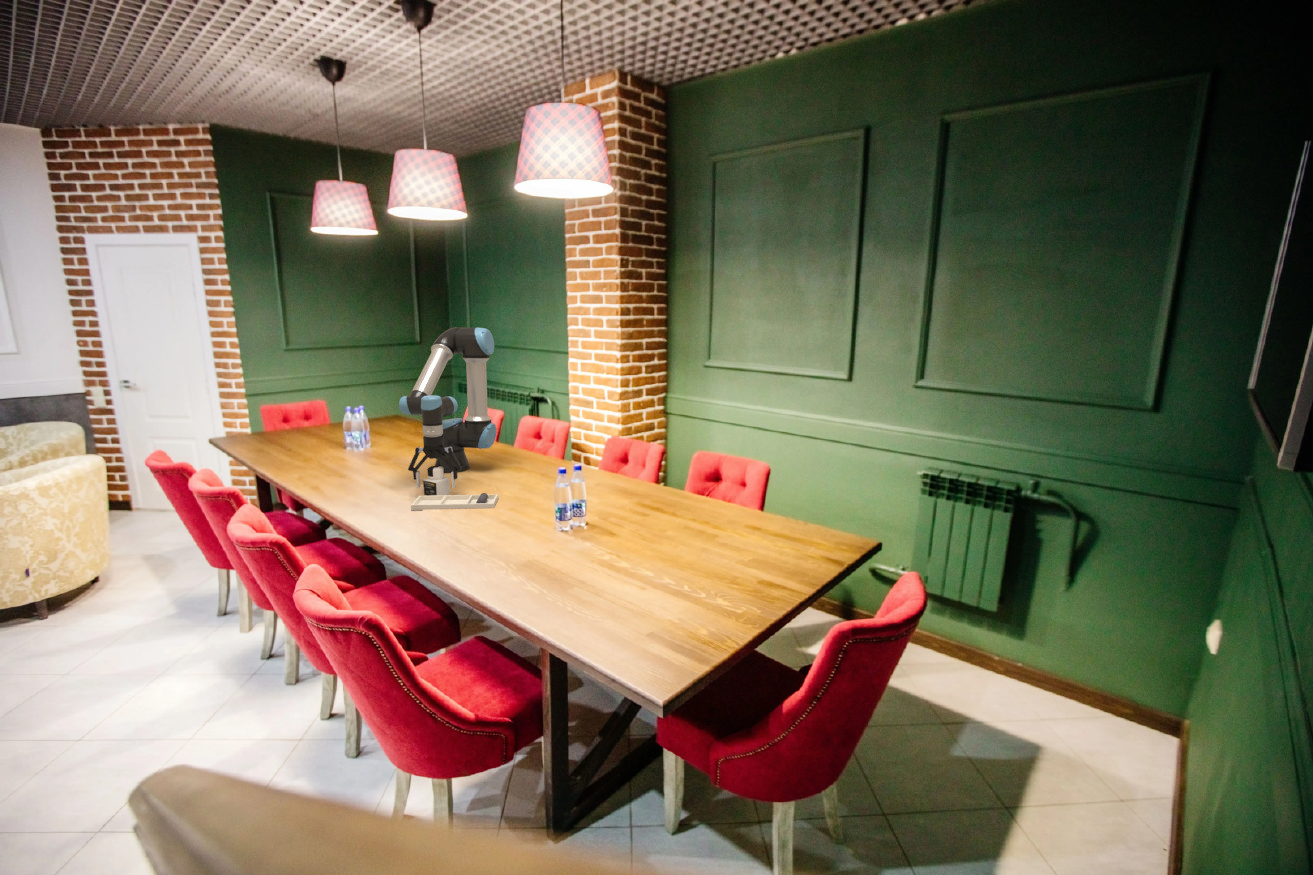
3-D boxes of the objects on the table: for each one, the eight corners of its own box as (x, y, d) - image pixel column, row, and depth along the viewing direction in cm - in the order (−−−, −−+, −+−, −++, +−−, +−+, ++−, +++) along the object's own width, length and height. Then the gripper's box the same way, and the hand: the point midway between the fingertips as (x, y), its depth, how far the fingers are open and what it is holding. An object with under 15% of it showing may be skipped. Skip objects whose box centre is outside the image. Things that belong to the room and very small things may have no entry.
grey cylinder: (479, 499, 247) (480, 492, 246) (487, 500, 247) (488, 493, 247) (476, 506, 239) (476, 498, 239) (484, 507, 240) (484, 499, 239)
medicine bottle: (423, 496, 252) (421, 467, 250) (437, 492, 258) (435, 463, 256) (436, 499, 249) (434, 470, 246) (450, 494, 255) (448, 465, 253)
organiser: (419, 501, 247) (419, 495, 246) (498, 499, 250) (498, 494, 249) (411, 510, 235) (410, 505, 235) (493, 509, 238) (493, 503, 238)
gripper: (397, 437, 244) (401, 490, 248) (463, 437, 246) (466, 489, 250) (403, 433, 251) (406, 484, 255) (467, 433, 253) (470, 484, 258)
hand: (436, 487), depth 253 cm, fingers open, 13 cm apart
